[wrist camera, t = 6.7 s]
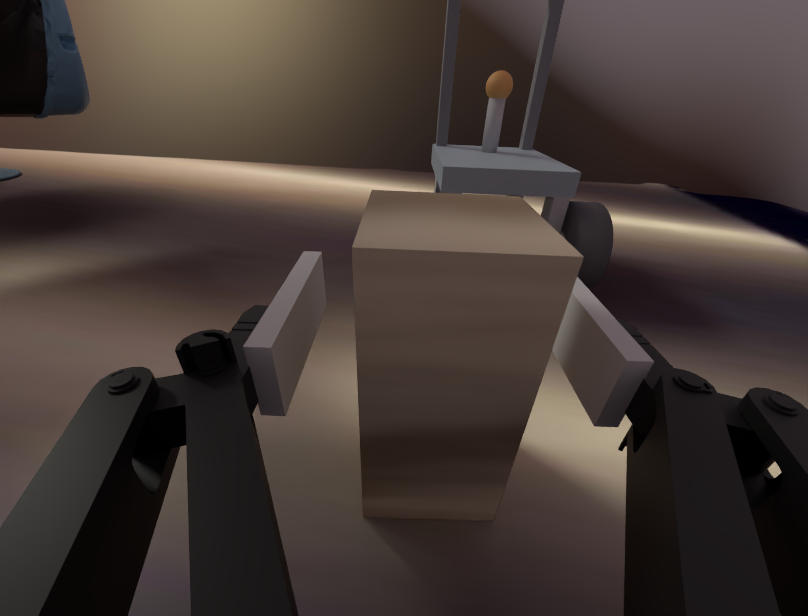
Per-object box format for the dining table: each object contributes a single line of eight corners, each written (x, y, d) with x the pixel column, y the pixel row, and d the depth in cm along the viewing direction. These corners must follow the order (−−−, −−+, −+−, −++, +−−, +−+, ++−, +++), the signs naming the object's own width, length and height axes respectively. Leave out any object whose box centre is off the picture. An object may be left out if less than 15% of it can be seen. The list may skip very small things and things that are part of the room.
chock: (493, 521, 13) (583, 256, 7) (363, 517, 13) (352, 247, 7) (472, 417, 18) (520, 196, 12) (373, 413, 18) (371, 190, 12)
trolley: (594, 305, 28) (752, -100, 16) (401, 297, 27) (418, -119, 16) (535, 237, 40) (598, -16, 29) (402, 231, 40) (413, -26, 28)
